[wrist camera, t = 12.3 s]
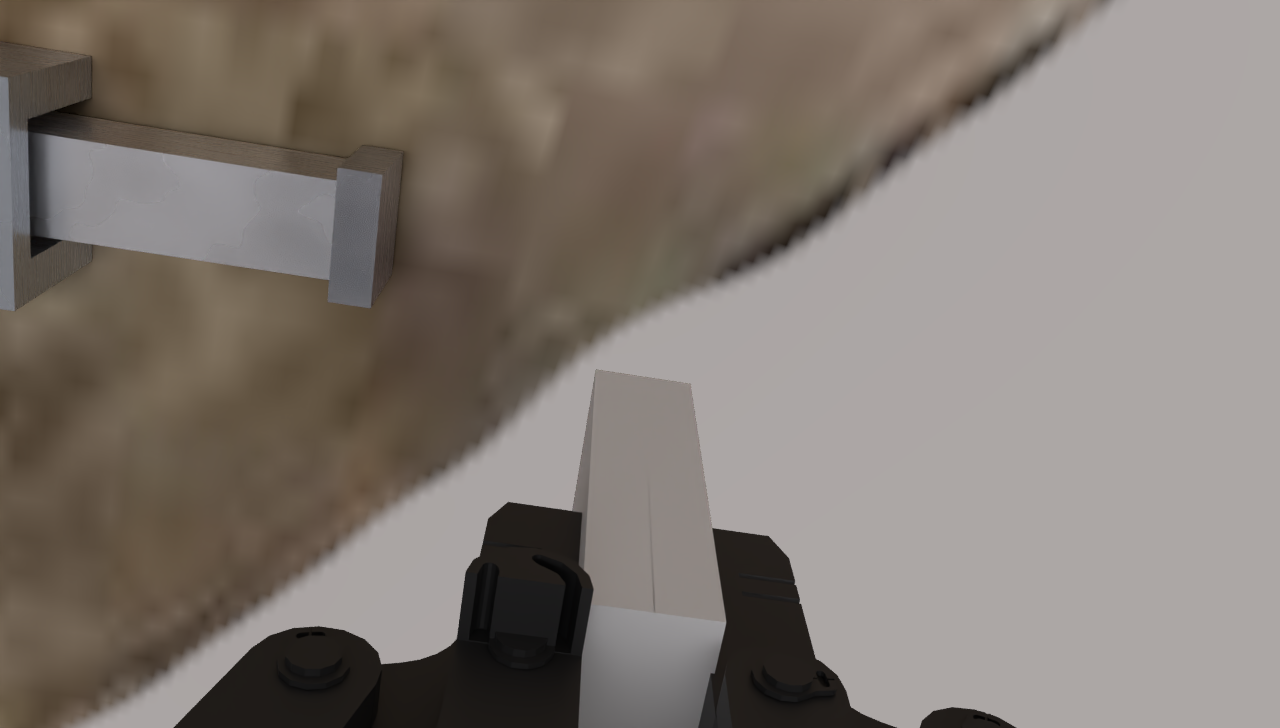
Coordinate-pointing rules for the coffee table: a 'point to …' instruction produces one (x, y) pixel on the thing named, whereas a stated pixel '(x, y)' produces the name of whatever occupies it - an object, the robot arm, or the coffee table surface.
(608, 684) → the robot arm
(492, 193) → the coffee table surface
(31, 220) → the lock pin
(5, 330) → the coffee table surface
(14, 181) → the pin guide
